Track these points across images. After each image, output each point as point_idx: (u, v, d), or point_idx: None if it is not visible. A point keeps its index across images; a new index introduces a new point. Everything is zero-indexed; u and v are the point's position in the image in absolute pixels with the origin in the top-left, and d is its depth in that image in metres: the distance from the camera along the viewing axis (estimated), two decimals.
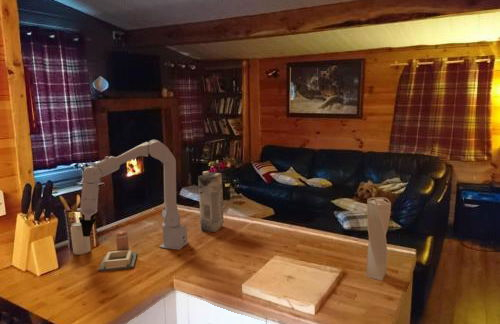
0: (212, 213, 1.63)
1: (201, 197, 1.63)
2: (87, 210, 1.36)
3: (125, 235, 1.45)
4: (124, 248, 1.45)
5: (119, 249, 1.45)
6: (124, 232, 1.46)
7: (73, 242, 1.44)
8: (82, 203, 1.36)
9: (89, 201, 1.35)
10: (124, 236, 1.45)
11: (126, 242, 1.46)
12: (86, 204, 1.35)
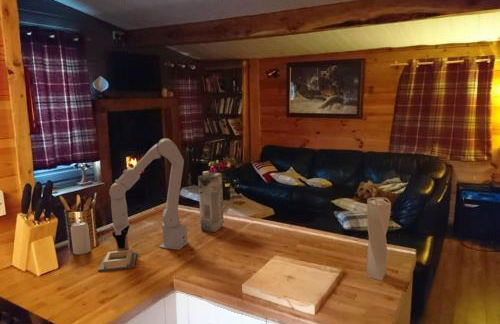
0: (212, 213, 1.63)
1: (201, 197, 1.63)
2: (118, 225, 1.42)
3: None
4: (124, 248, 1.45)
5: (119, 249, 1.45)
6: None
7: (73, 242, 1.44)
8: (113, 219, 1.43)
9: (118, 216, 1.42)
10: None
11: (126, 242, 1.46)
12: (116, 219, 1.42)
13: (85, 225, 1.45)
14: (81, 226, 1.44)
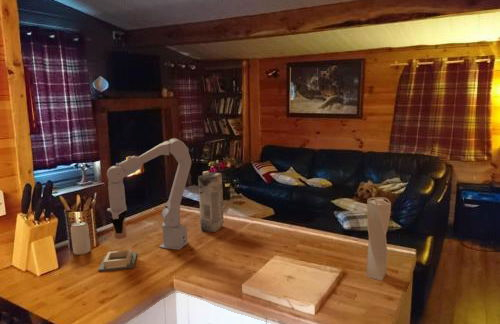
0: (212, 213, 1.63)
1: (201, 197, 1.63)
2: (116, 209, 1.39)
3: None
4: (122, 233, 1.42)
5: (116, 234, 1.42)
6: None
7: (73, 242, 1.44)
8: (110, 203, 1.40)
9: (116, 200, 1.39)
10: None
11: (124, 227, 1.43)
12: (114, 204, 1.39)
13: (85, 225, 1.45)
14: (81, 226, 1.44)
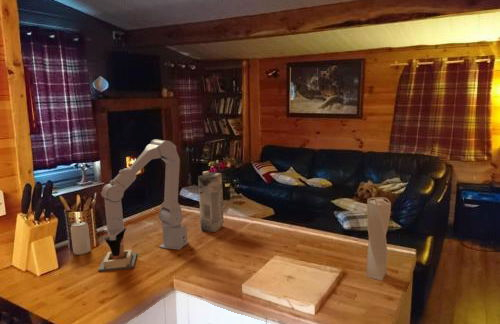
0: (212, 213, 1.63)
1: (201, 197, 1.63)
2: (113, 229, 1.32)
3: (121, 243, 1.35)
4: (119, 257, 1.35)
5: (114, 258, 1.35)
6: None
7: (73, 242, 1.44)
8: (107, 223, 1.32)
9: (113, 220, 1.32)
10: (120, 244, 1.35)
11: (122, 250, 1.36)
12: (111, 223, 1.32)
13: (85, 225, 1.45)
14: (81, 226, 1.44)
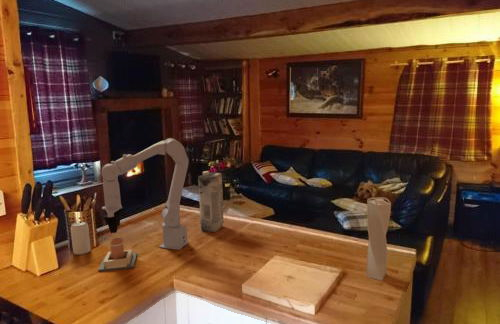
0: (212, 213, 1.63)
1: (201, 197, 1.63)
2: (111, 207, 1.38)
3: (120, 243, 1.35)
4: (119, 257, 1.35)
5: (114, 258, 1.35)
6: (119, 240, 1.36)
7: (73, 242, 1.44)
8: (105, 201, 1.39)
9: (111, 198, 1.38)
10: (119, 244, 1.35)
11: (121, 250, 1.36)
12: (109, 202, 1.38)
13: (85, 225, 1.45)
14: (81, 226, 1.44)
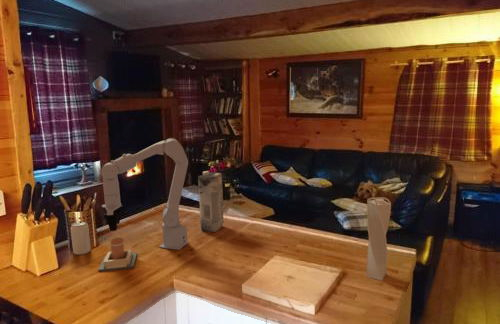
0: (212, 213, 1.63)
1: (201, 197, 1.63)
2: (110, 206, 1.41)
3: (121, 243, 1.35)
4: (119, 257, 1.35)
5: (114, 258, 1.35)
6: (119, 240, 1.36)
7: (73, 242, 1.44)
8: (105, 199, 1.41)
9: (110, 197, 1.40)
10: (120, 244, 1.35)
11: (122, 250, 1.36)
12: (108, 200, 1.40)
13: (85, 225, 1.45)
14: (81, 226, 1.44)
